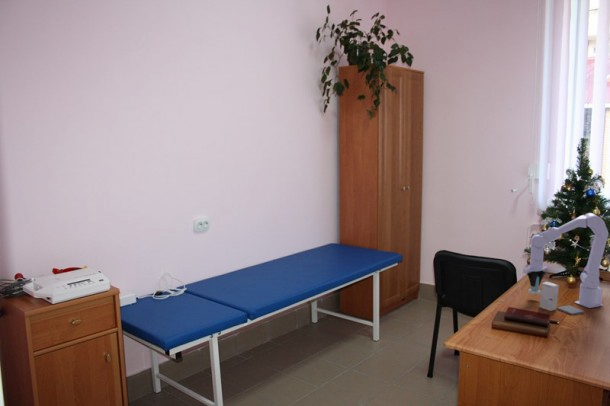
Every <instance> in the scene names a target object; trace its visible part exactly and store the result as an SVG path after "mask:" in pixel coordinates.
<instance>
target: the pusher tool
mask: <svg viewBox="0 0 610 406" xmlns="http://www.w3.org/2000/svg"><path fill="white" fill-rule="evenodd" d="M527 290H528V291H527V292H528V294H532V295H535V296H536V295H541V290H540V286H539V277H538V276H537V279H536V285H535V287H533V286H531V285H530V288H528V289H527Z"/></svg>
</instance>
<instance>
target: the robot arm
mask: <svg viewBox="0 0 610 406" xmlns="http://www.w3.org/2000/svg"><path fill="white" fill-rule="evenodd" d="M587 227H588V228H589V229H591V231H592V232H593V234H594V237H593V241H592V245H591V248H590V252H589V256H588V260H587V263H586V266H585V267H584V269H583V271H582V272H581V273H580V275H579V279H580V281H581V283H580V285H579V299H578V300H577V301H576V300H575V301H574V303H575V304H577V305H580V306H582V307H585V308H589V309H591V308H596V307H597V308H598V307H602V306H604V304H603V303H602V301H603V300H602V299H603V289H602V288H601V287H600V286H599V285H600V283H601V282H600V266H601V262H602V259H603V256H604V252H605V248H606V244H607V241H608V237H609V230H608V228H607V226H606V223H605V221H604V220H603V219H602V218H601V217H600V216H598V215H596V214H595V213H592V212H588V213H585V214H582V215H579V216H578V217H576V218H573V219H572V220H570V221H567V223H564V224H562V225H561V226H558V227H554V226H552V227H551V226H550V227H548V228H547V229H546V230H543V231H542V232H538V234H537V233H536V234H534V235H532V236H531V238H530V243H531V246H530V256H529V259H530V260H529V265H528V267H526V268H523V272H522V273H523V274H526V275H527V278H528V280H529V284H530V287H531V286H533V287H535V285H536V279H537V276H538V277H539V287H540V286H541V284H542V280H543V278H544V276H546V273H547V272H546V271H549V266H548V265H544V256H545V255H544V253H545V250H544V247H545V246H546V244H549V243H551V242H553V241H555V240H557V239H560V238H561V236H562V234H565V233H566V232H569V231H573V230H574V229H576V228H584V229H585V228H587ZM588 228H587V229H588Z"/></svg>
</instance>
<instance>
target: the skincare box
mask: <svg viewBox="0 0 610 406" xmlns="http://www.w3.org/2000/svg"><path fill="white" fill-rule="evenodd" d="M559 288H560V285H559V284H556V283H554V282H550V281H544V282H541V290H540V291H541V294H540V299H539V300H540V301H539V308H540V309H544V310H547V311H550V312H553V311H556V310H557V305H558V296H559V290H560V289H559Z"/></svg>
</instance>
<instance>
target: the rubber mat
mask: <svg viewBox="0 0 610 406" xmlns="http://www.w3.org/2000/svg"><path fill="white" fill-rule="evenodd" d="M556 310H558V311H560V312H563V313H566V314H568V315H571V316H574V315H580V314H585V310H582V309H580V308H579V307H578V308H577V307H574V306H573V305H570V304H569V305H562V306H558V307H557V308H556Z"/></svg>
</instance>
